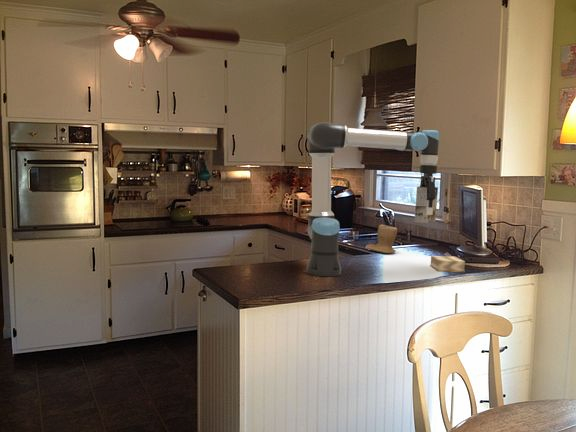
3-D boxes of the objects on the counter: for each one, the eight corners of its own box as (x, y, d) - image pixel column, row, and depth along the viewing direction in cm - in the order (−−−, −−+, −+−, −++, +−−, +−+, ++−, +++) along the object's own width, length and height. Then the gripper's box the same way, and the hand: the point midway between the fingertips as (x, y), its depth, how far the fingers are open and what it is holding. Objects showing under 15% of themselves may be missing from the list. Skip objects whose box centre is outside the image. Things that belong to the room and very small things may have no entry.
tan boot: (400, 253, 297) (402, 225, 295) (385, 255, 289) (387, 227, 288) (379, 249, 308) (380, 222, 307) (364, 250, 301) (366, 223, 299)
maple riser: (438, 271, 252) (438, 260, 252) (429, 266, 265) (430, 255, 264) (464, 272, 253) (465, 261, 253) (455, 266, 265) (456, 256, 265)
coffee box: (427, 223, 248) (429, 187, 246) (414, 221, 252) (416, 186, 250) (435, 221, 255) (438, 187, 253) (423, 220, 259) (425, 186, 257)
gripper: (445, 165, 239) (441, 216, 241) (429, 164, 262) (426, 211, 264) (428, 164, 239) (424, 215, 241) (413, 164, 261) (410, 210, 264)
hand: (425, 213), depth 253 cm, fingers closed on coffee box, 10 cm apart
